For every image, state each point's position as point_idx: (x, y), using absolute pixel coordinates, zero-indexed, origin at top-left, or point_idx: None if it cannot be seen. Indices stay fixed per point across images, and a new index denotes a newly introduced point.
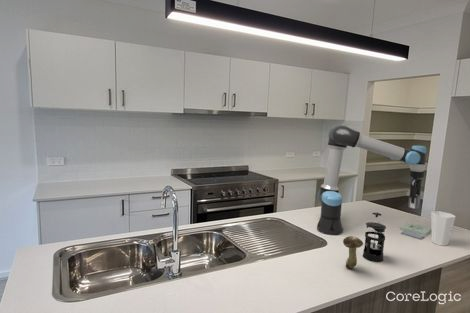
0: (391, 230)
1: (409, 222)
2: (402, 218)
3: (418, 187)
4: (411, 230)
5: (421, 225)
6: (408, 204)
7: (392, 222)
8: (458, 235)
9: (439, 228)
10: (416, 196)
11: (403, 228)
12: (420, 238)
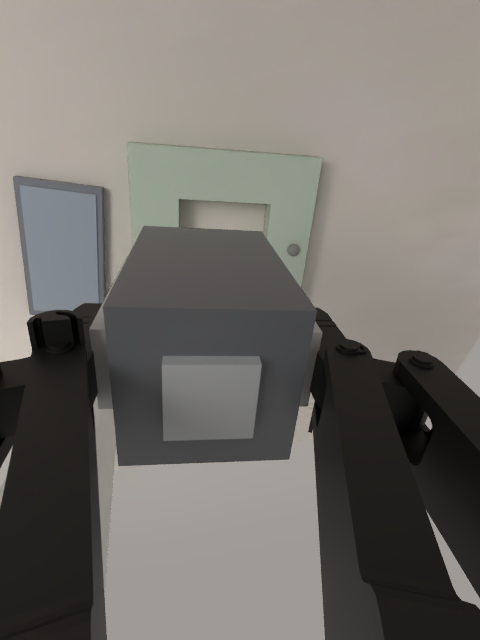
0: (20, 85)
1: (317, 174)
2: (467, 74)
3: (329, 628)
4: (132, 232)
5: (302, 262)
6: (138, 240)
7: (274, 21)
8: (305, 419)
9: None
10: (118, 438)
11: (129, 170)
12: (34, 311)
